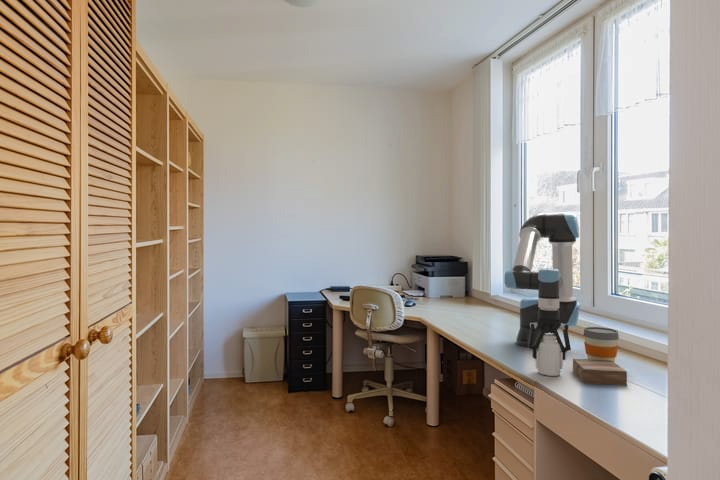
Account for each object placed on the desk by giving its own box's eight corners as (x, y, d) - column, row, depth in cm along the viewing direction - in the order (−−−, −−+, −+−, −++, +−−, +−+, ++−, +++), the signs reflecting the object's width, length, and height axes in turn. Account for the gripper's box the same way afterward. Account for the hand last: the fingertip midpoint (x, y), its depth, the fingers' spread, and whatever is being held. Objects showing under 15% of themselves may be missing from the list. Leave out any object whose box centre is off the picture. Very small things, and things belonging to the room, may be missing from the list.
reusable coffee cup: (606, 373, 166) (606, 334, 166) (576, 364, 177) (576, 328, 177) (625, 368, 172) (625, 331, 172) (595, 360, 183) (595, 325, 183)
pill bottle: (558, 371, 168) (558, 333, 168) (561, 377, 160) (561, 337, 160) (537, 369, 171) (537, 331, 171) (538, 375, 163) (538, 336, 163)
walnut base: (572, 371, 168) (572, 358, 168) (611, 373, 166) (611, 360, 166) (584, 383, 155) (584, 369, 155) (626, 385, 152) (626, 371, 152)
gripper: (522, 309, 164) (522, 368, 164) (580, 311, 160) (580, 372, 160) (518, 306, 171) (519, 363, 171) (574, 308, 167) (574, 366, 167)
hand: (548, 367), depth 166 cm, fingers closed on pill bottle, 8 cm apart
